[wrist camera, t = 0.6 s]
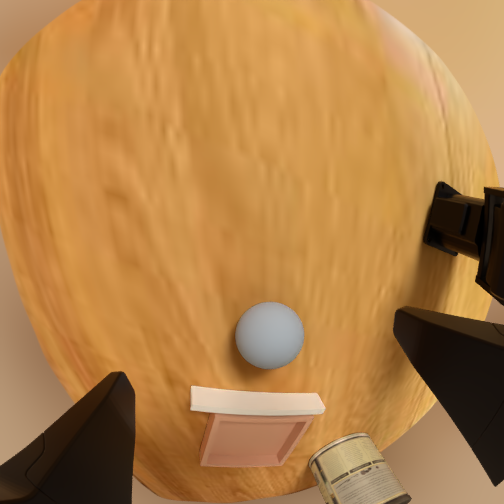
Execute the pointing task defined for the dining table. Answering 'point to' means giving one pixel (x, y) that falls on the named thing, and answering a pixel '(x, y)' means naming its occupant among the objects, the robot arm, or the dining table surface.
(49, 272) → the dining table surface
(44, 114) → the dining table surface
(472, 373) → the robot arm
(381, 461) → the coffee can
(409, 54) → the dining table surface
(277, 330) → the ball
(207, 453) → the dish
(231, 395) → the wall
